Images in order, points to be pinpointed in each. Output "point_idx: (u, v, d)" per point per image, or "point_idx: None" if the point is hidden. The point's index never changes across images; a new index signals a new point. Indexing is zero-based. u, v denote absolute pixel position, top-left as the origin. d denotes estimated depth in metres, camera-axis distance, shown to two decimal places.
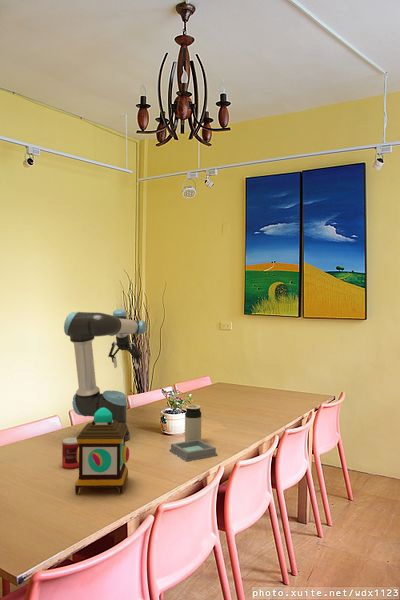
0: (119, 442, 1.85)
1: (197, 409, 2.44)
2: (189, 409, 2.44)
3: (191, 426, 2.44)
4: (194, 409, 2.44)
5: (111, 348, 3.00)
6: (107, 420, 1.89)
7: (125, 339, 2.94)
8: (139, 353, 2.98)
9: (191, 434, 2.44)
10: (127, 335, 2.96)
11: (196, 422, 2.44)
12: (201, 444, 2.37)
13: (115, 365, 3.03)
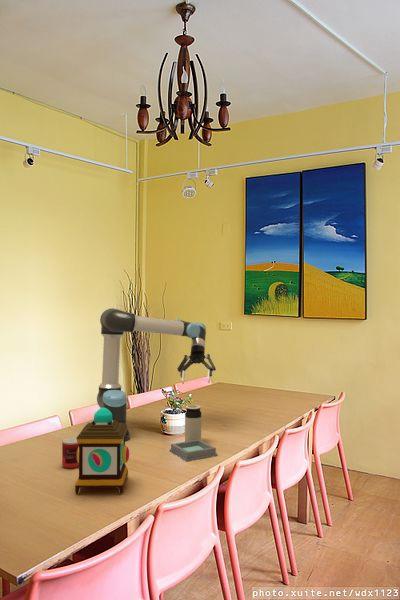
0: (119, 442, 1.85)
1: (197, 409, 2.44)
2: (189, 409, 2.44)
3: (191, 426, 2.44)
4: (194, 409, 2.44)
5: (183, 360, 2.71)
6: (107, 420, 1.89)
7: (202, 347, 2.73)
8: None
9: (191, 434, 2.44)
10: None
11: (196, 422, 2.44)
12: (201, 444, 2.37)
13: (183, 378, 2.64)
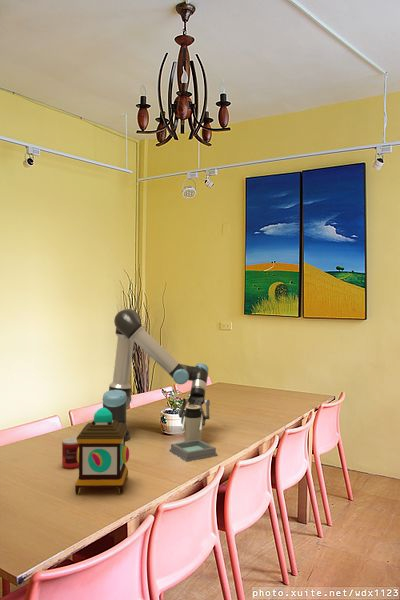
0: (119, 442, 1.85)
1: (197, 409, 2.44)
2: (189, 409, 2.44)
3: (191, 426, 2.44)
4: (194, 409, 2.44)
5: (182, 404, 2.54)
6: (107, 420, 1.89)
7: (202, 390, 2.57)
8: None
9: (191, 434, 2.44)
10: None
11: (196, 422, 2.44)
12: (201, 444, 2.37)
13: (184, 425, 2.45)
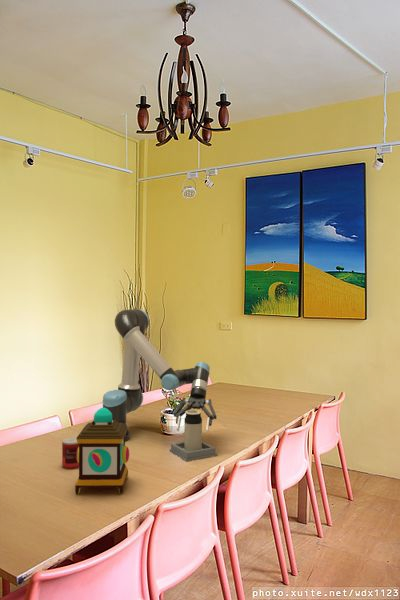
0: (119, 442, 1.85)
1: (197, 415, 2.29)
2: (189, 415, 2.28)
3: (191, 433, 2.28)
4: (194, 415, 2.28)
5: (180, 403, 2.38)
6: (107, 420, 1.89)
7: (203, 391, 2.40)
8: None
9: (191, 441, 2.28)
10: None
11: (197, 428, 2.28)
12: None
13: (178, 425, 2.31)
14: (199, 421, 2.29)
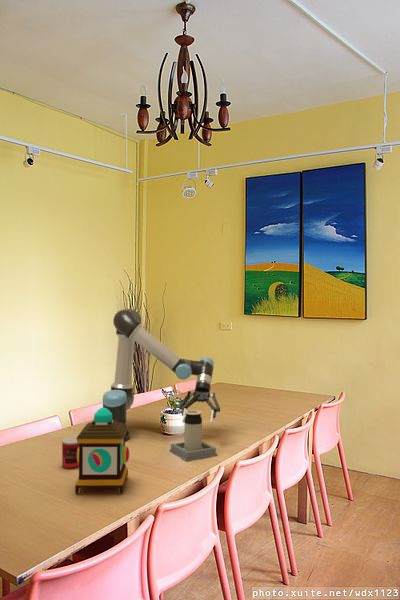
0: (119, 442, 1.85)
1: (197, 415, 2.28)
2: (189, 415, 2.28)
3: (191, 433, 2.28)
4: (194, 415, 2.28)
5: (186, 396, 2.51)
6: (107, 420, 1.89)
7: (208, 384, 2.53)
8: (218, 406, 2.47)
9: (191, 441, 2.28)
10: None
11: (197, 428, 2.28)
12: None
13: (184, 417, 2.43)
14: (199, 421, 2.29)
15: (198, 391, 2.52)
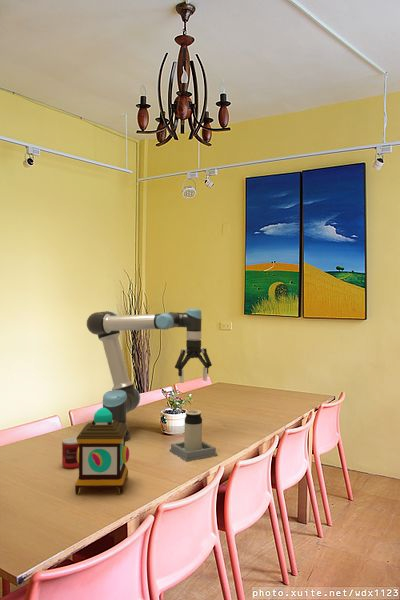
0: (119, 442, 1.85)
1: (197, 415, 2.28)
2: (189, 415, 2.28)
3: (191, 433, 2.27)
4: (194, 415, 2.28)
5: (182, 357, 2.50)
6: (107, 420, 1.89)
7: None
8: None
9: (191, 441, 2.28)
10: None
11: (197, 428, 2.28)
12: None
13: None
14: (199, 421, 2.29)
15: (191, 349, 2.53)
